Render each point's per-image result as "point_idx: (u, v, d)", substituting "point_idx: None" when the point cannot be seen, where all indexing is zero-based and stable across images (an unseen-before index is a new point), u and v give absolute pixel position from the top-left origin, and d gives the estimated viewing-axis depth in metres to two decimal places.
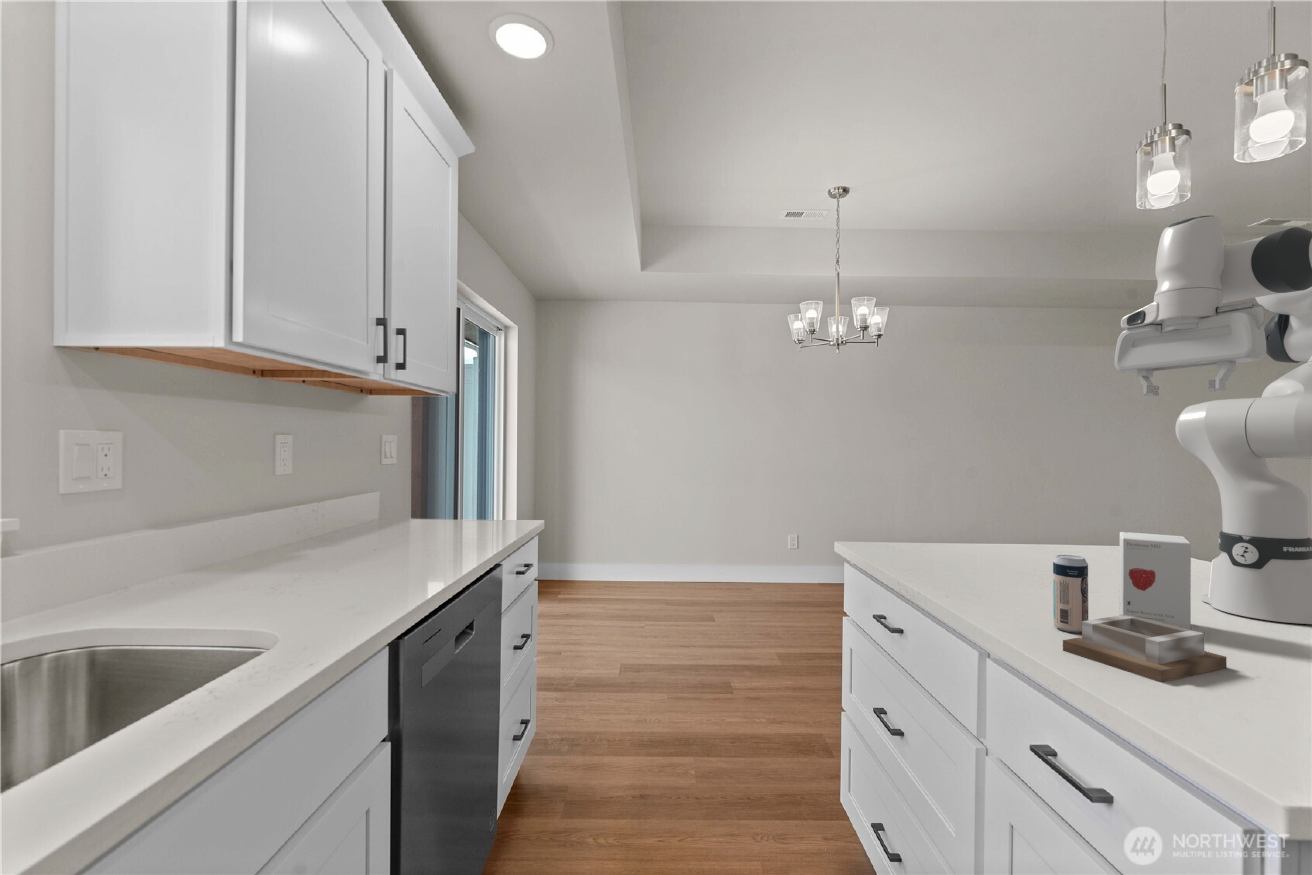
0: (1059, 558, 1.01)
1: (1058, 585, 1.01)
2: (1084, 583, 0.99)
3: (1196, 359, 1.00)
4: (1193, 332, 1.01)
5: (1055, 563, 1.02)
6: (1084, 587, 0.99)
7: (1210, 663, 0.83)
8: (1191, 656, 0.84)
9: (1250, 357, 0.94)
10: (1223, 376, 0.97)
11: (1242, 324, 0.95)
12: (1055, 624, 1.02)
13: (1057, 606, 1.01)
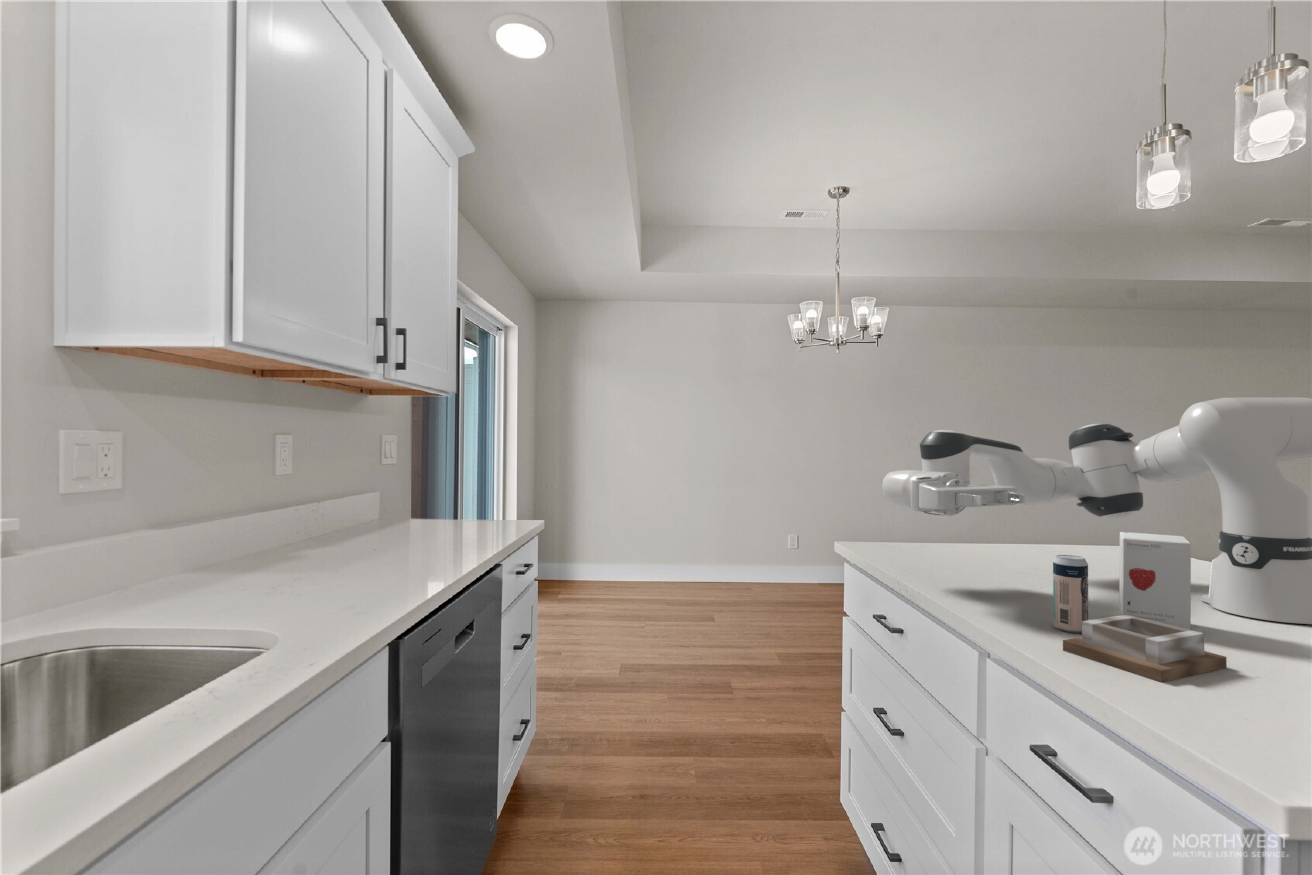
0: (1059, 558, 1.01)
1: (1058, 585, 1.01)
2: (1084, 583, 0.99)
3: (989, 487, 1.19)
4: (966, 487, 1.23)
5: (1055, 563, 1.02)
6: (1084, 587, 0.99)
7: (1210, 663, 0.83)
8: (1191, 656, 0.84)
9: (1017, 489, 1.21)
10: None
11: (991, 485, 1.26)
12: (1055, 624, 1.02)
13: (1057, 606, 1.01)
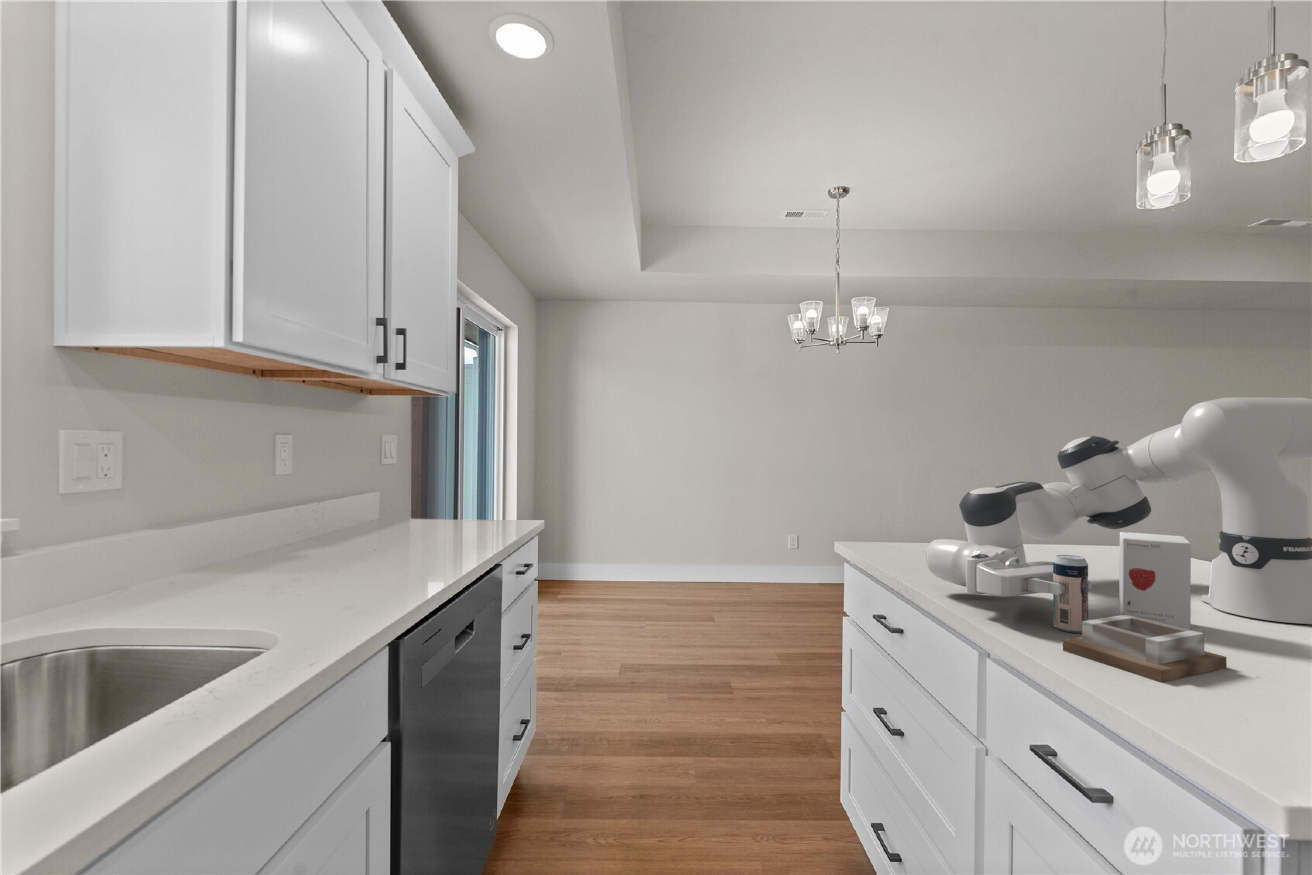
0: (1059, 558, 1.01)
1: None
2: (1084, 583, 0.99)
3: None
4: (1028, 566, 1.10)
5: (1055, 563, 1.02)
6: (1084, 587, 0.99)
7: (1210, 663, 0.83)
8: (1191, 656, 0.84)
9: None
10: None
11: None
12: (1055, 624, 1.02)
13: (1057, 606, 1.01)
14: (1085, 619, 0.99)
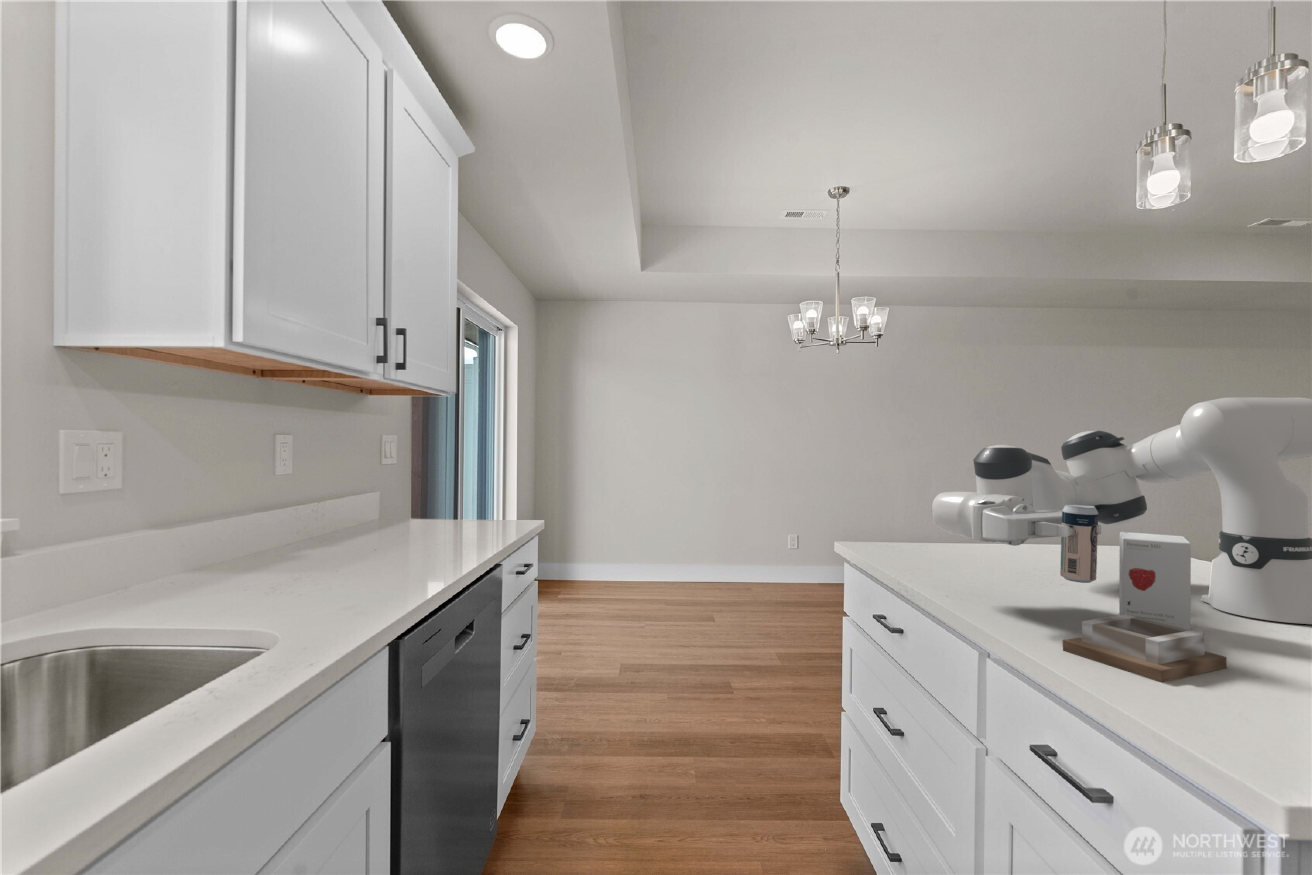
0: (1069, 507, 0.98)
1: None
2: (1094, 532, 0.96)
3: None
4: (1036, 513, 1.08)
5: (1064, 512, 0.99)
6: (1094, 536, 0.96)
7: (1210, 663, 0.83)
8: (1191, 656, 0.84)
9: None
10: None
11: None
12: (1062, 574, 0.99)
13: (1065, 556, 0.98)
14: (1093, 569, 0.97)
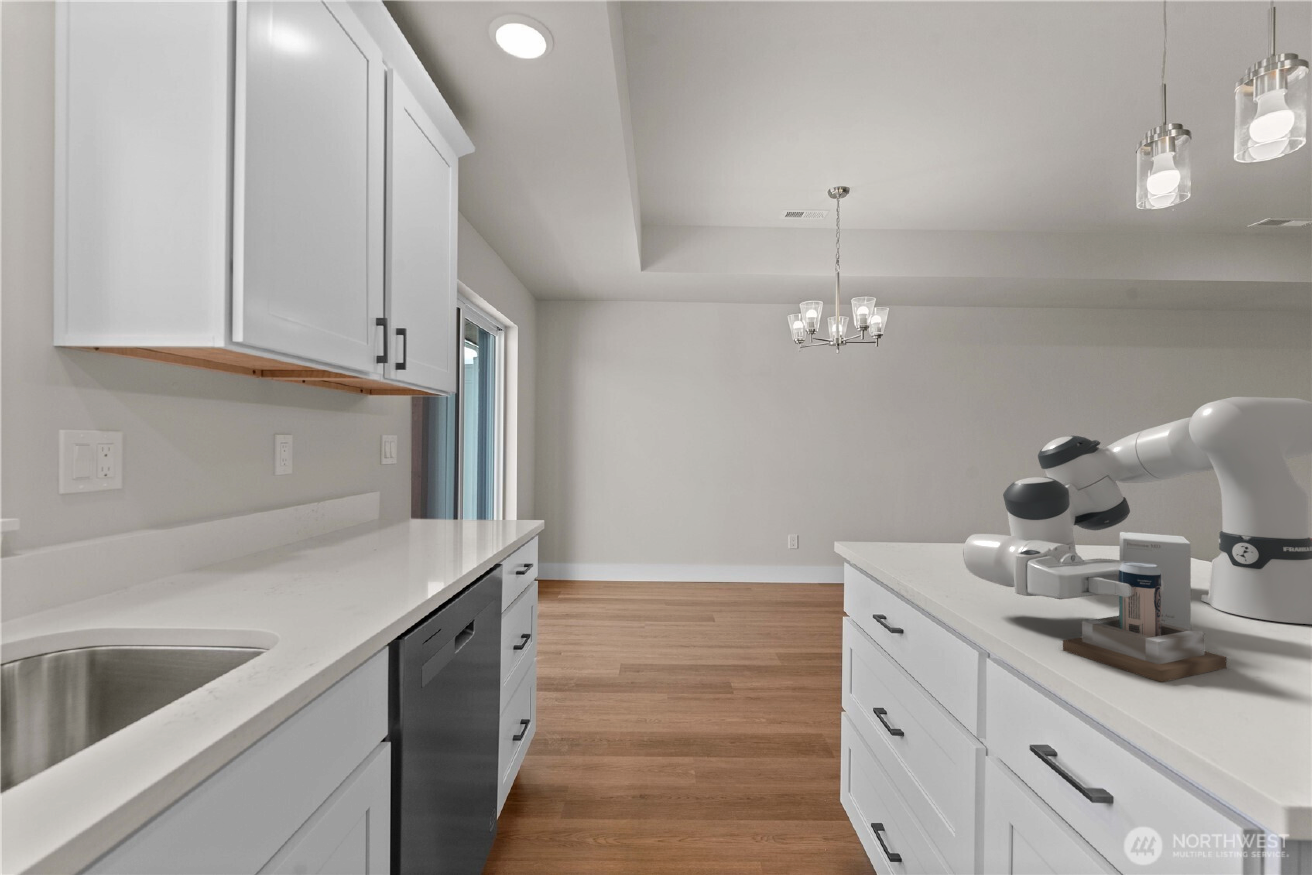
0: (1127, 565, 0.88)
1: (1126, 597, 0.87)
2: (1158, 594, 0.86)
3: (1119, 567, 0.93)
4: (1085, 564, 0.97)
5: (1122, 571, 0.88)
6: (1158, 599, 0.86)
7: (1210, 663, 0.83)
8: (1191, 656, 0.84)
9: None
10: None
11: (1113, 559, 0.99)
12: None
13: (1125, 621, 0.87)
14: None
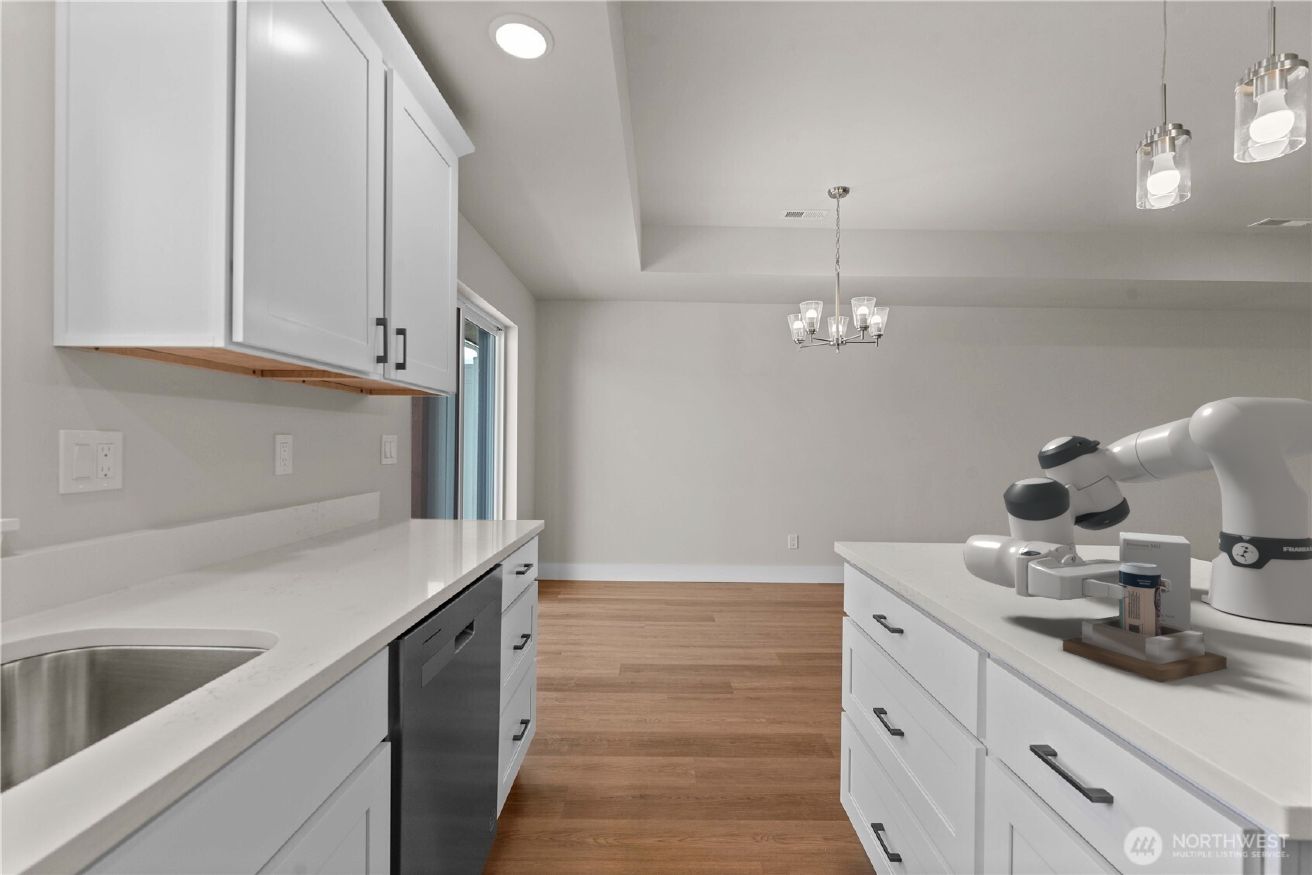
0: (1127, 565, 0.88)
1: None
2: (1158, 594, 0.86)
3: None
4: (1085, 565, 0.97)
5: (1122, 571, 0.88)
6: (1158, 599, 0.86)
7: (1210, 663, 0.83)
8: (1191, 656, 0.84)
9: None
10: None
11: (1113, 560, 0.99)
12: None
13: (1125, 621, 0.87)
14: None
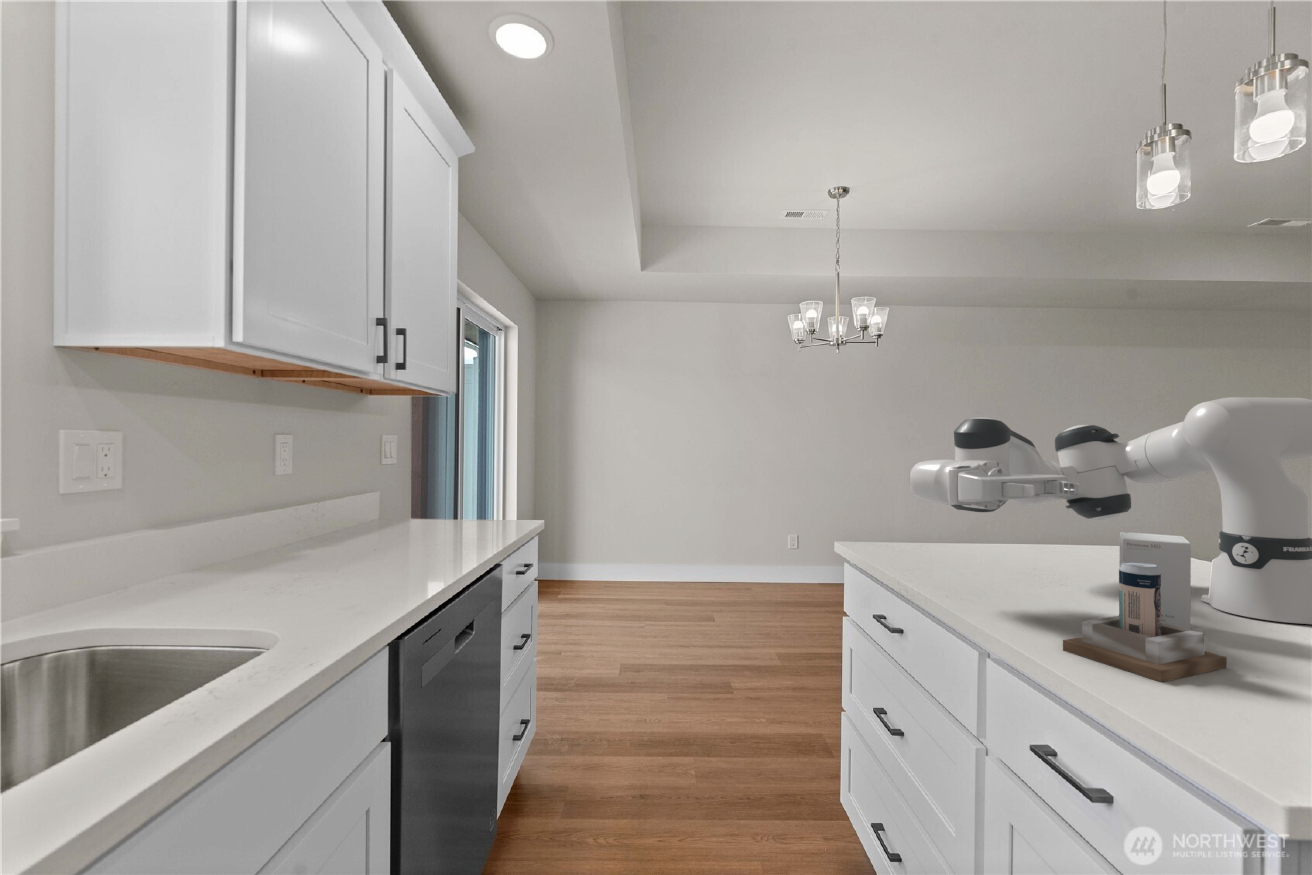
0: (1127, 565, 0.88)
1: (1126, 597, 0.87)
2: (1158, 594, 0.86)
3: (1038, 476, 1.05)
4: None
5: (1122, 571, 0.88)
6: (1158, 599, 0.86)
7: (1210, 663, 0.83)
8: (1191, 656, 0.84)
9: (1068, 479, 1.07)
10: None
11: (1036, 474, 1.11)
12: None
13: (1125, 621, 0.87)
14: None
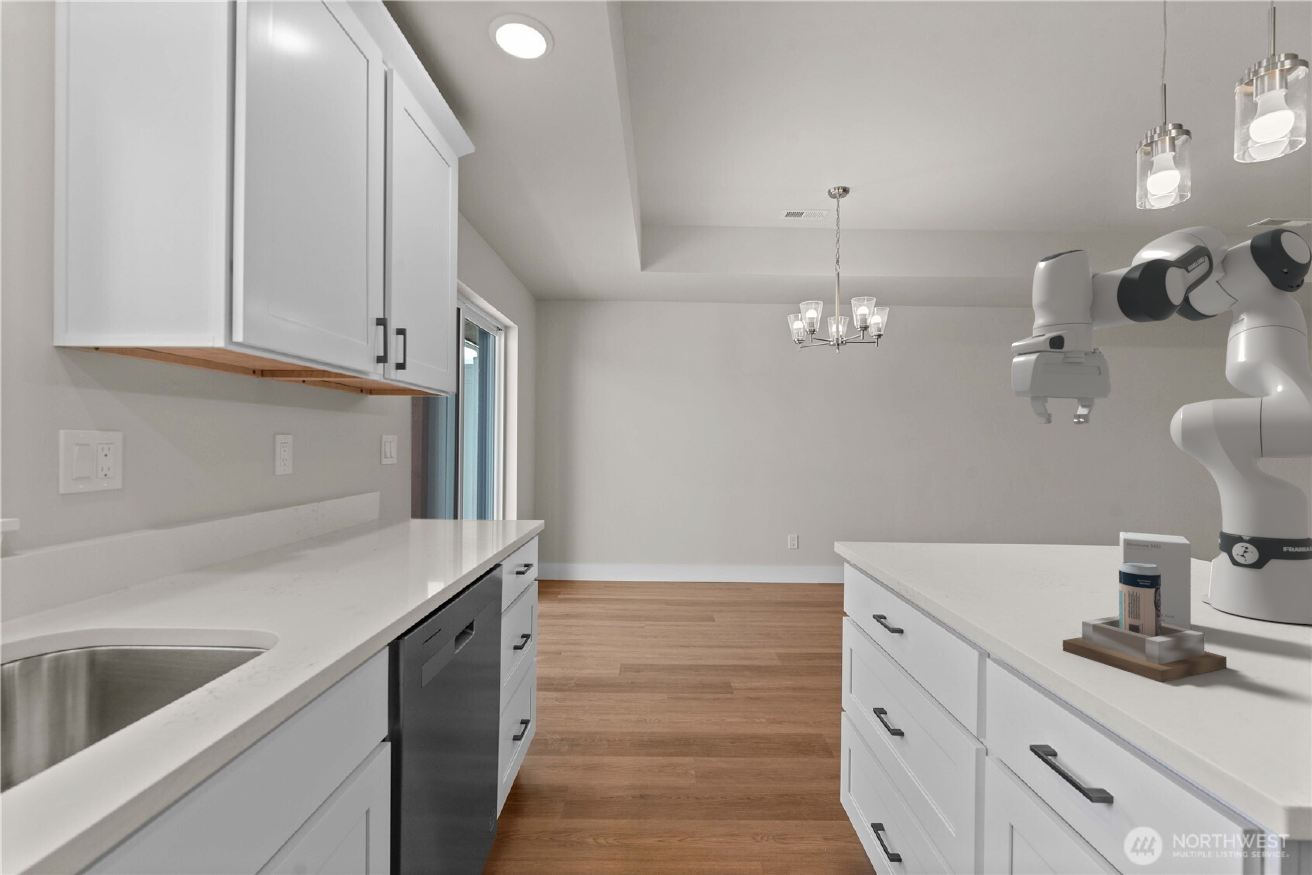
0: (1127, 565, 0.88)
1: (1126, 597, 0.87)
2: (1158, 594, 0.86)
3: (1083, 393, 1.06)
4: (1078, 366, 1.06)
5: (1122, 571, 0.88)
6: (1158, 599, 0.86)
7: (1210, 663, 0.83)
8: (1191, 656, 0.84)
9: (1106, 397, 1.09)
10: None
11: (1106, 368, 1.08)
12: None
13: (1125, 621, 0.87)
14: None
